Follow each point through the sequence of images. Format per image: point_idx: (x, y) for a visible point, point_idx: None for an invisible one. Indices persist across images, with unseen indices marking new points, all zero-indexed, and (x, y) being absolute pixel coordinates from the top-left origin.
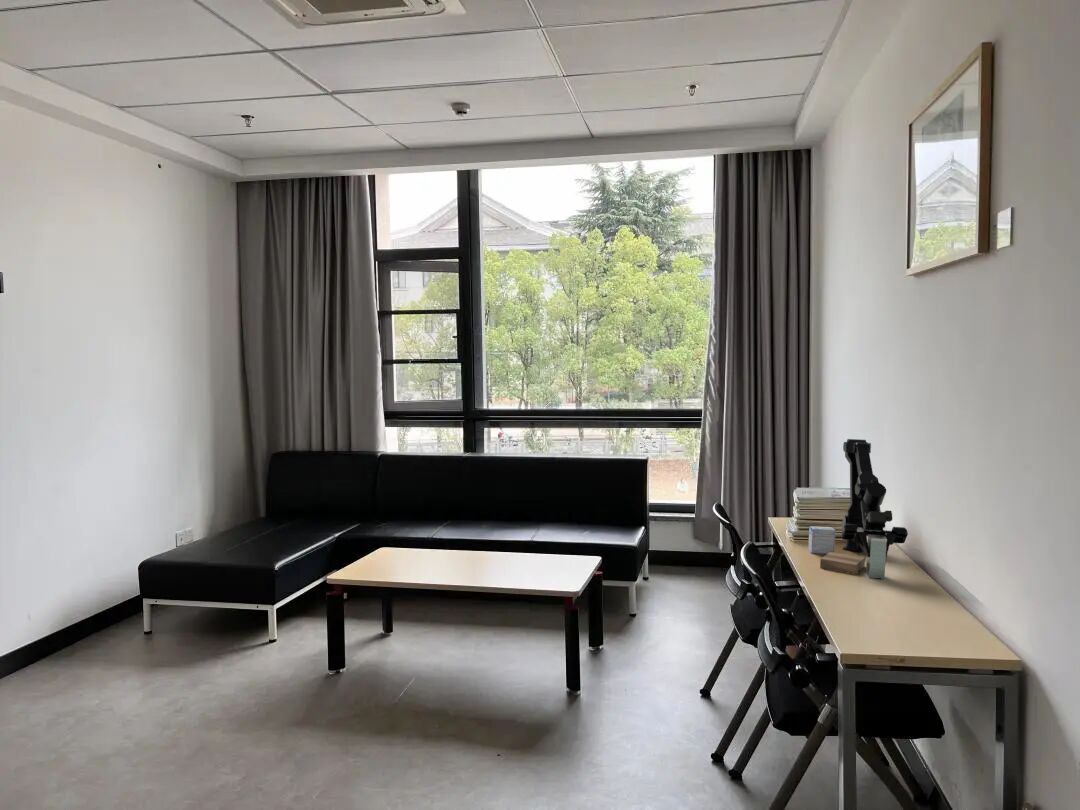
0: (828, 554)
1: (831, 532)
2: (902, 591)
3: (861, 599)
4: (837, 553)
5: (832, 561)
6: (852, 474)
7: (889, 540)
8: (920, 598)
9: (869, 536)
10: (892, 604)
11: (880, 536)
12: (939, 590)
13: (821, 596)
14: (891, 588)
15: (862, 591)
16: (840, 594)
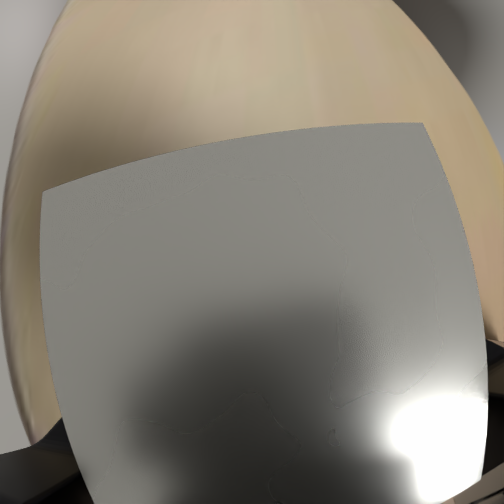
0: None
1: None
2: (149, 126)
3: (303, 15)
4: (453, 501)
5: (494, 341)
6: None
7: (52, 445)
8: (108, 87)
9: (477, 292)
10: (214, 11)
11: (176, 454)
12: (17, 219)
13: (403, 22)
14: (189, 144)
15: (311, 68)
16: (368, 35)
